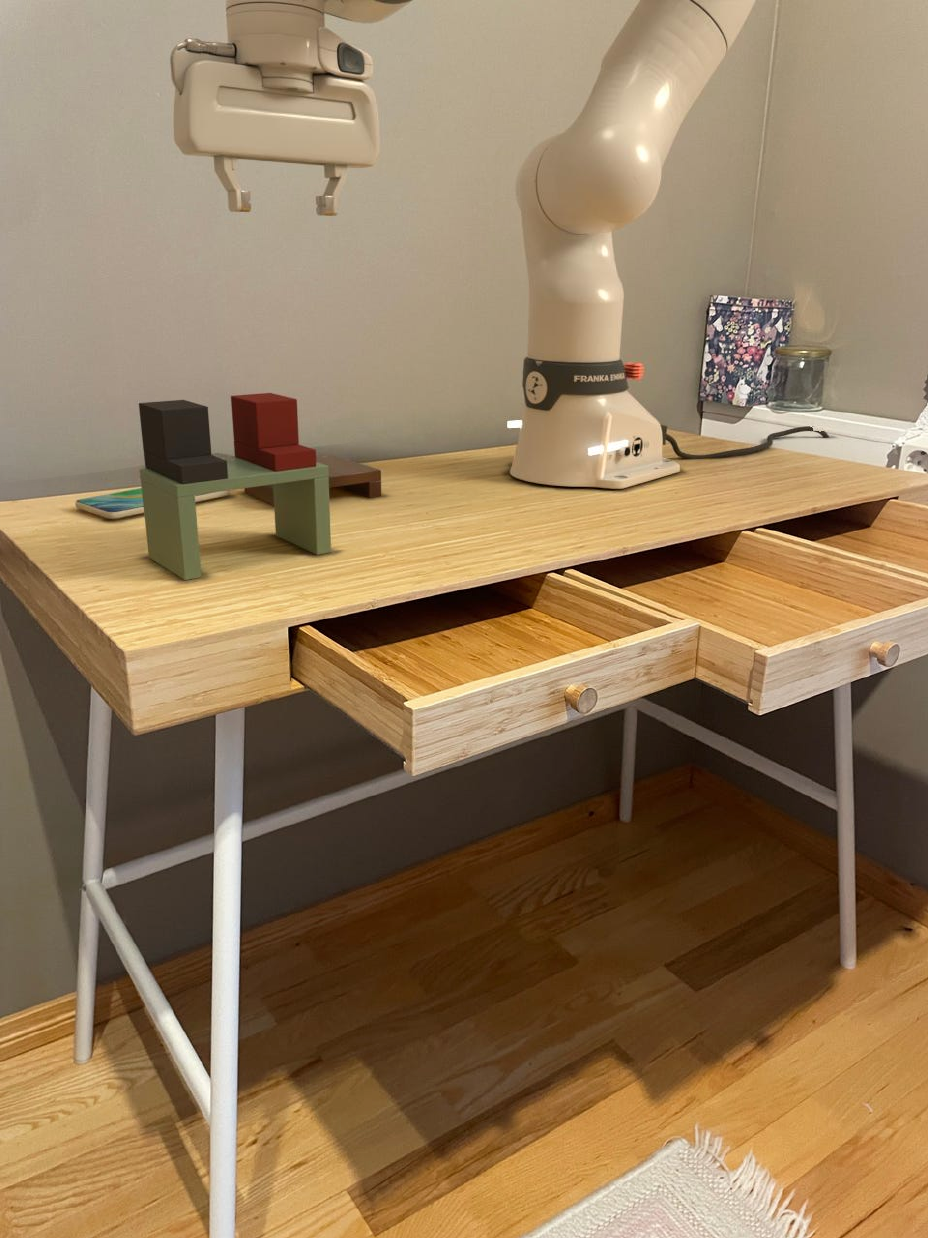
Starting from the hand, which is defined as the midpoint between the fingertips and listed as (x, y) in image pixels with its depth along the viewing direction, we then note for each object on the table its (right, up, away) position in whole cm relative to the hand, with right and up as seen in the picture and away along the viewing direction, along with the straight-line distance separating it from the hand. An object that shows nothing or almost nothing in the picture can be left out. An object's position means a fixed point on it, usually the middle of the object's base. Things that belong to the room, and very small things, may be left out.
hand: (284, 213), depth 94 cm
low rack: (0, -25, +15) cm, 30 cm away
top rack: (-3, -34, -7) cm, 34 cm away
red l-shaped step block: (0, -25, -7) cm, 26 cm away
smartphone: (-16, -27, +11) cm, 33 cm away
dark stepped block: (-6, -27, -12) cm, 30 cm away
